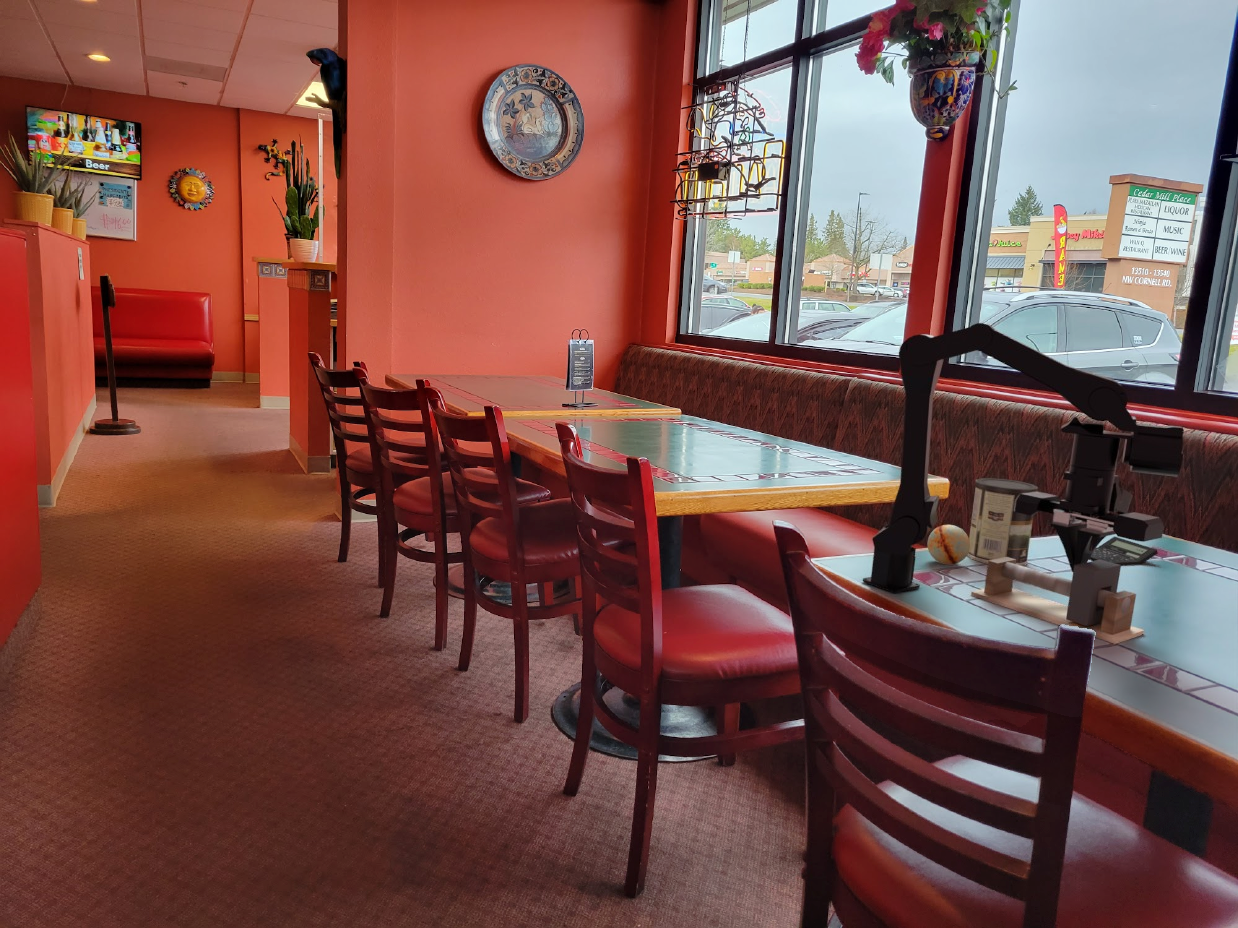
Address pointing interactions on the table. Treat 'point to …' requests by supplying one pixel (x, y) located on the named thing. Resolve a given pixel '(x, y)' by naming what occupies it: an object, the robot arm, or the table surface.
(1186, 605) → the table surface
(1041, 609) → the pipe stand
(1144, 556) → the calculator
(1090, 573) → the grey sliding block
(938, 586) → the table surface
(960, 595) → the table surface
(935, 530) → the ball
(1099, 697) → the table surface
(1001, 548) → the coffee can
